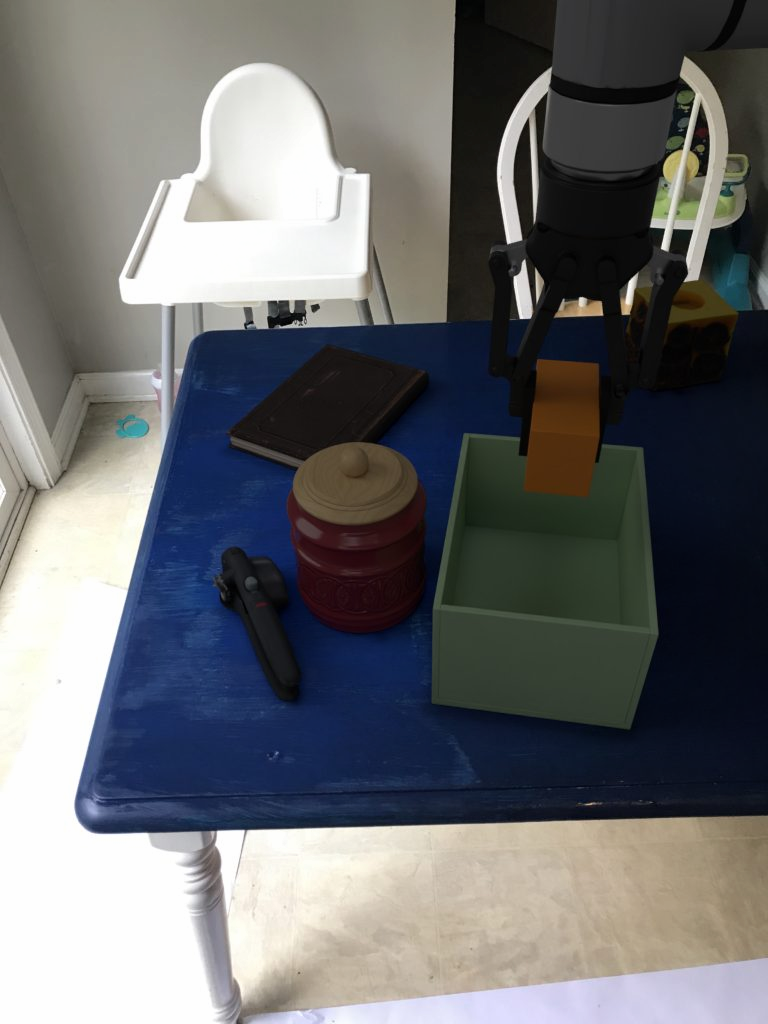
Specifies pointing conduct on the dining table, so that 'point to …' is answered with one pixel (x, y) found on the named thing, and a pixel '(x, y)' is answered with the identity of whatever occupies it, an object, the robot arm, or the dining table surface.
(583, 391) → the block
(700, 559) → the dining table surface
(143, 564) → the dining table surface
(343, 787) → the dining table surface
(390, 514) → the kitchen canister
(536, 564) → the bin
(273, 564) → the can opener
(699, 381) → the cube with round hole
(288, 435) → the hardcover book
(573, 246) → the robot arm
